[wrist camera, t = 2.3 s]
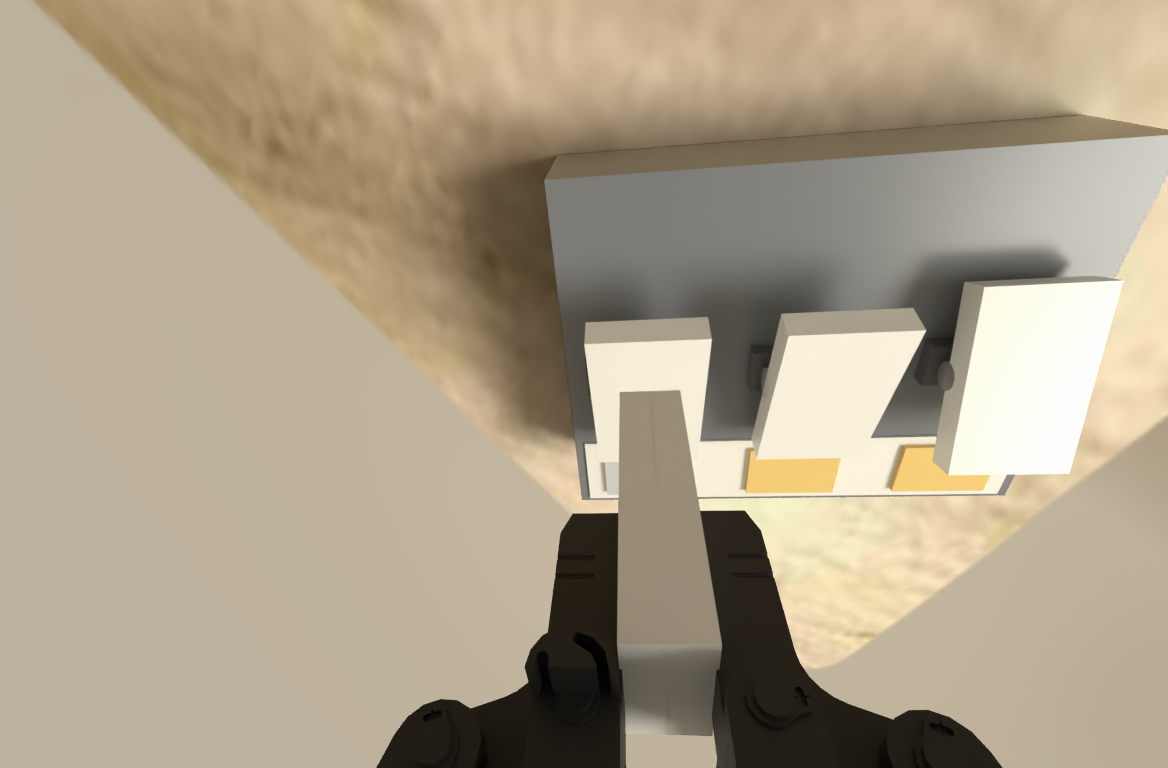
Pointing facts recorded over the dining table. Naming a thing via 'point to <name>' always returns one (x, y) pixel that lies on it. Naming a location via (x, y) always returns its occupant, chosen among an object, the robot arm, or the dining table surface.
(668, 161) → the panel
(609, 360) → the switch
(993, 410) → the switch
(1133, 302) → the dining table surface
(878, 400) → the switch
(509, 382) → the dining table surface
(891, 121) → the dining table surface
